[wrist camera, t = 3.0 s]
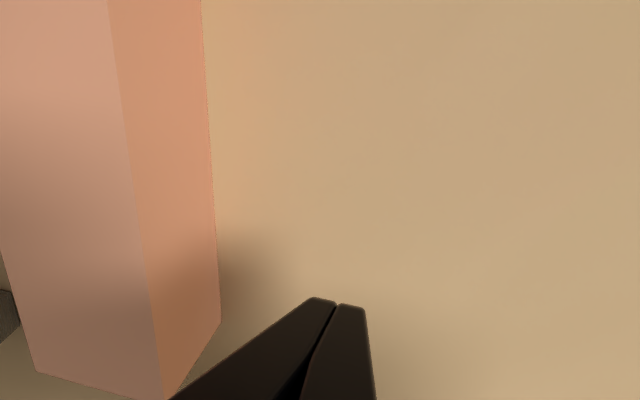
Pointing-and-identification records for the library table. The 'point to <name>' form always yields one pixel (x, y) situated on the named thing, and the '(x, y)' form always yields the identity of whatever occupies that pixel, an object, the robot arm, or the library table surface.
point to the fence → (7, 315)
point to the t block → (108, 190)
